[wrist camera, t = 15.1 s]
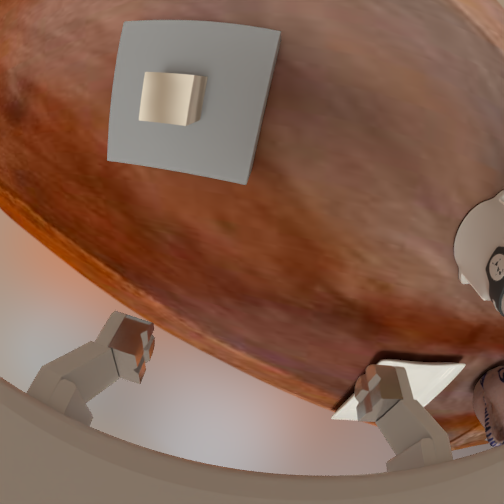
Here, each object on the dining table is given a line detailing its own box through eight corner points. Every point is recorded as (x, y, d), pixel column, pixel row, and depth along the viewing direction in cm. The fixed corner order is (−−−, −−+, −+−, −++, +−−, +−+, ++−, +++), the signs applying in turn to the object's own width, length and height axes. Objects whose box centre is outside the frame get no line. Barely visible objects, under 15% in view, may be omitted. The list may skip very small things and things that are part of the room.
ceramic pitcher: (490, 388, 64) (510, 447, 43) (449, 395, 64) (467, 465, 43) (520, 354, 54) (547, 417, 33) (481, 359, 55) (509, 435, 34)
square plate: (328, 408, 69) (329, 420, 65) (377, 347, 54) (381, 361, 51) (407, 410, 69) (410, 420, 66) (463, 354, 55) (468, 365, 51)
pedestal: (281, 40, 28) (280, 31, 23) (251, 170, 38) (246, 185, 33) (145, 28, 28) (124, 21, 23) (128, 149, 37) (107, 160, 32)
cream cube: (207, 76, 26) (194, 75, 22) (199, 120, 29) (185, 126, 25) (164, 72, 26) (145, 71, 22) (158, 114, 29) (138, 120, 25)
